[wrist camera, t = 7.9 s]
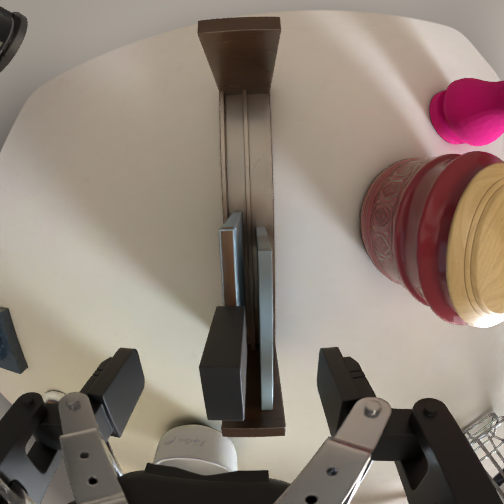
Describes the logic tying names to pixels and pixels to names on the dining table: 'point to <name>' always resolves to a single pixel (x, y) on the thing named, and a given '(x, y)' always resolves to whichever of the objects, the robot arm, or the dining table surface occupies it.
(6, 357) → the button box
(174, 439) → the teacup
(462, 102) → the pepper mill
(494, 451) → the geometric lantern
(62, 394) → the dessert
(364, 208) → the kitchen canister
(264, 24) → the window frame
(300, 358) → the dining table surface
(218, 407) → the window pane
